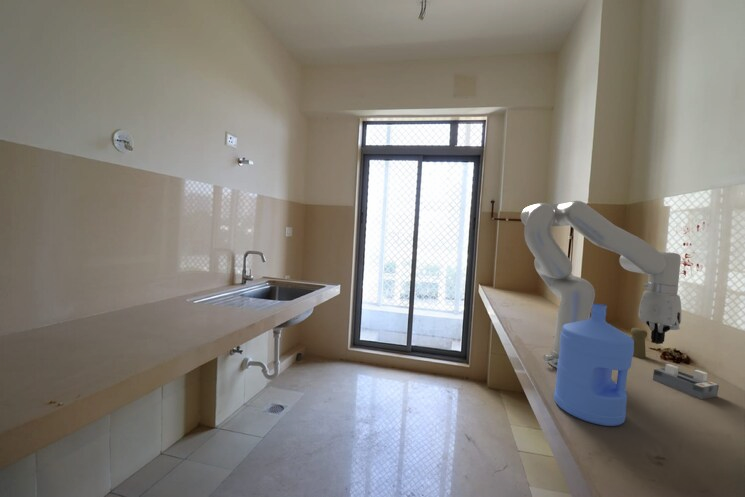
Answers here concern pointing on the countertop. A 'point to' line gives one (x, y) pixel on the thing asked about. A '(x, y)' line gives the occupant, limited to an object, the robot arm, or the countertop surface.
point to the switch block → (686, 384)
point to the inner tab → (671, 370)
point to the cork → (639, 342)
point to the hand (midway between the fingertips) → (657, 342)
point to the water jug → (593, 369)
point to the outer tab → (700, 376)
